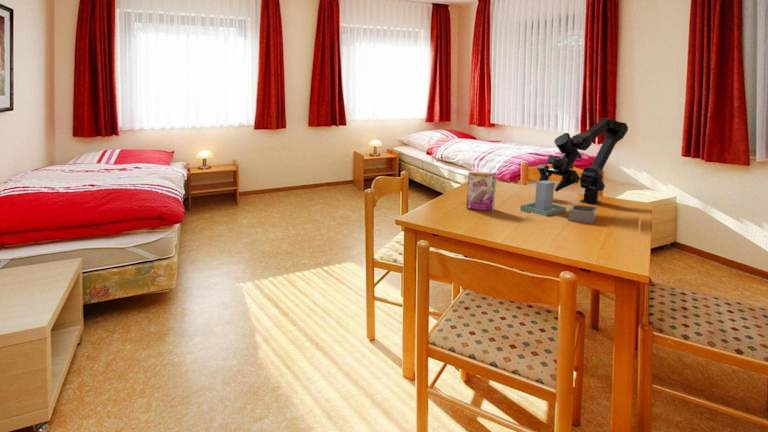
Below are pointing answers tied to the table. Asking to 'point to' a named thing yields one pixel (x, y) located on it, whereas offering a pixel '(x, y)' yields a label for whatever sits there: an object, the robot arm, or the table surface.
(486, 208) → the candy bar box
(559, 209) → the tray
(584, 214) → the holder
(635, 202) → the table surface
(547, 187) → the block
